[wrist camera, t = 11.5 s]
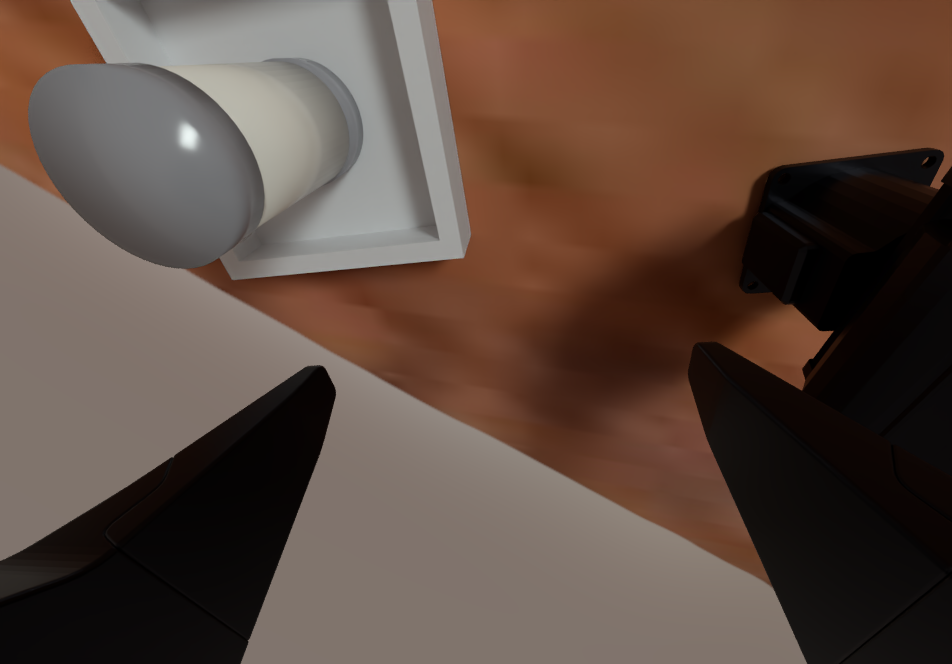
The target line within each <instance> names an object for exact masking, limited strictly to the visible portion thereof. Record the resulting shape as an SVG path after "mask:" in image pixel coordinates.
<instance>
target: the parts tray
mask: <svg viewBox="0 0 952 664" xmlns="http://www.w3.org/2000/svg"><path fill="white" fill-rule="evenodd" d="M70 1H71V3H72V5H73V6H74V8H75V10H76V11H77V13H78V15H79V17H80V18H81V20H82V22H83V24H84V25H85V27H86V29H87V30H88V32H89V34H90V36H91V37H92V39H93V41H94V42H95V44H96V46H97V48H98V49H99V51H100V53H101V55H102V56H103V58H104V60H105V61H106V63H144V64H151V65H154V66H179V65H203V64H226V63H249V62H262V61H264V60H268V59H272V58H305V59H309V60H312V61H315V62H317V63H319V64H321V65H323V66H325V67H326V68H328V69H329V70H331V71H332V72H333V73H334V74H335V75H336V76H337V77H338V78H339V79H340V80H341V81H342V82H343V83H344V84H345V85H346V87H347V88H348V89H349V91H350V93H351V94H352V96H353V98H354V100H355V102H356V104H357V106H358V109H359V111H360V115H361V118H362V124H363V145H362V149H361V152H360V155H359V157H358V159H357V161H356V163H355V164H354V165H353V167H352V168H351V169H350V170H349V171H347V172H346V173H344V174H343V175H341V176H340V177H338V178H337V179H335V180H334V181H332V182H331V183H329V184H326V185H323V186H320V187H319V188H317V189H316V190H314V191H313V192H311V193H310V194H308V195H307V196H305V197H304V198H302V199H301V200H299V201H297V202H296V203H294V204H293V205H291V206H290V207H288V208H287V209H285V210H284V211H282V212H281V213H279V214H278V215H276V216H275V217H273V218H272V219H270V220H268V221H267V222H265V223H264V224H262V225H261V226H259V227H258V228H256V230H255V231H254V232H253V233H252V235H251V236H250V237H248V238H247V239H246V240H244V241H243V242H241V243H240V244H238V245H237V246H235V247H234V248H232V249H231V250H229V251H228V252H226V253H225V254H223V255H222V256H220V257H219V258H220V260H221V261H222V263H223V265H224V267H225V268H226V270H227V272H228V274H229V275H230V277H231V279H232V280H239V279H249V278H260V277H270V276H281V275H291V274H301V273H312V272H322V271H333V270H343V269H353V268H364V267H374V266H385V265H395V264H405V263H416V262H426V261H437V260H447V259H457V258H464V256H465V252H466V249H467V246H468V243H469V239H470V236H471V231H470V225H469V219H468V213H467V207H466V201H465V195H464V189H463V183H462V177H461V171H460V165H459V159H458V153H457V147H456V141H455V135H454V129H453V123H452V117H451V111H450V105H449V99H448V93H447V87H446V81H445V75H444V69H443V63H442V57H441V51H440V45H439V39H438V33H437V27H436V21H435V15H434V9H433V3H432V0H70Z"/></svg>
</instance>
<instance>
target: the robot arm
mask: <svg viewBox="0 0 952 664" xmlns="http://www.w3.org/2000/svg"><path fill="white" fill-rule="evenodd" d="M927 157H929V158H928V160H927V162H926V163H925V164H923V165H921V164H922V162H923V161H924V160H925V159H926V158H927ZM943 158H944V153H943V152H942V151H941V150H938V149H934V148H921V149H913V150H905V151H897V152H888V153H880V154H872V155H864V156H855V157H847V158H839V159H831V160H823V161H814V162H806V163H798V164H790V165H782V166H779V167H777V168H775V169H774V170H773V171H772V172H771V173H770V174H769V176H768V179H767V182H766V186H765V190H764V193H763V197H762V201H761V204H760V208H759V212H758V213H757V214H756V216H755V217H754V218H753V221H752V225H751V229H750V232H749V236H748V240H747V244H746V247H745V251H744V255H743V259H742V263H743V264H744V267H743V271H742V274H741V278H740V282H739V286H740V288H741V289H742V290H743V291H744V292H745V293H750V294H751V293H766V292H772V293H773V294H774V295H775V296H776V297H777V298H778V299H779V300H780V301H781V302H782V303H783V304H785V305H790V304H792V305H793V306H794V307H795V308H796V309H797V310H798V311H800V312H801V313H802V314H803V315H804V316H805V317H806V318H807V319H808V320H809V321H810V322H811V323H812V324H813V325H814V326H815V327H816V328H817V329H818V330H819V331H834V332H833V333H832V334H831V336H830V337H829V338H828V340H827V341H826V342H825V344H824V345H823V346H822V348H821V349H820V350H819V352H818V353H817V354H816V356H815V357H814V358H813V359H809V360H808V362H807V363H806V364H805V366H804V367H803V368H802V371H803V374H804V377H805V383H804V387H803V390H802V391H801V390H800V389H798V388H796V387H794V386H793V385H791V384H789V383H787V382H786V381H784V380H782V379H780V378H779V377H777V376H775V375H774V374H772V373H770V372H768V371H767V370H765V369H763V368H761V367H760V366H758V365H756V364H754V363H753V362H751V361H749V360H747V359H746V358H744V357H742V356H740V355H739V354H737V353H735V352H734V351H732V350H730V349H728V348H727V347H725V346H723V345H721V344H720V343H718V342H698V343H696V344H695V345H694V347H693V350H692V355H691V360H690V364H689V369H688V378H689V382H690V386H691V389H692V392H693V396H694V399H695V402H696V405H697V409H698V412H699V415H700V418H701V422H702V425H703V428H704V431H705V434H706V437H707V440H708V443H709V445H710V448H711V450H712V452H713V454H714V457H715V459H716V461H717V463H718V466H719V468H720V470H721V472H722V475H723V477H724V479H725V481H726V483H727V486H728V488H729V490H730V492H731V495H732V497H733V499H734V501H735V504H736V506H737V508H738V510H739V513H740V515H741V517H742V519H743V521H744V524H745V526H746V528H747V530H748V533H749V535H750V537H751V539H752V542H753V544H754V546H755V548H756V550H757V553H758V555H759V557H760V559H761V562H762V564H763V566H764V568H765V571H766V573H767V575H768V577H769V580H770V582H771V584H772V586H773V588H774V591H775V593H776V595H777V597H778V600H779V602H780V604H781V606H782V609H783V611H784V613H785V615H786V617H787V620H788V622H789V624H790V626H791V629H792V631H793V633H794V635H795V638H796V640H797V642H798V644H799V646H800V649H801V651H802V653H803V655H804V657H805V660H806V662H807V664H952V167H951V168H950V169H949V171H948V172H947V173H946V175H945V176H944V177H943V179H942V180H941V182H943V183H944V184H943V185H942V187H941V188H940V189H939V190H938V189H935V188H933V187H930V185H931V183H932V181H933V179H934V177H935V175H936V173H937V171H938V169H939V167H940V165H941V163H942V161H943ZM785 173H786V177H785V179H784V180H783V181H781V182H778V179H779V177H780V176H781V175H782V174H785ZM753 281H755V282H754V284H752V285H750V286H748V284H749V283H751V282H753ZM335 397H336V390H335V387H334V385H333V383H332V381H331V379H330V377H329V375H328V373H327V371H326V369H325V368H324V367H323V366H320V365H317V366H307V367H305V368H303V369H302V370H301V371H299V372H297V373H296V374H294V375H293V376H292V377H290V378H288V379H287V380H286V381H284V382H283V383H281V384H280V385H278V386H277V387H275V388H274V389H272V390H271V391H269V392H268V393H266V394H265V395H264V396H262V397H260V398H259V399H257V400H256V401H254V402H253V403H251V404H250V405H248V406H247V407H245V408H244V409H243V410H241V411H239V412H238V413H237V414H235V415H234V416H232V417H231V418H229V419H228V420H226V421H225V422H223V423H222V424H220V425H219V426H217V427H216V428H214V429H213V430H211V431H210V432H208V433H207V434H205V435H204V436H202V437H201V438H199V439H198V440H196V441H195V442H193V443H192V444H191V445H189V446H188V447H186V448H185V449H183V450H182V451H180V452H179V453H177V454H176V455H175V456H174V458H173V457H172V458H170V459H168V460H167V461H165V462H164V463H162V464H161V465H159V466H158V467H156V468H155V469H153V470H152V471H150V472H149V473H147V474H146V475H144V476H143V477H141V478H140V479H138V480H137V481H135V482H133V483H132V484H131V485H129V486H128V487H126V488H124V489H123V490H121V491H119V492H118V493H116V494H114V495H113V496H111V497H110V498H108V499H107V500H105V501H103V502H102V503H100V504H98V505H97V506H95V507H93V508H92V509H90V510H89V511H87V512H85V513H84V514H82V515H80V516H79V517H77V518H75V519H74V520H72V521H70V522H69V523H67V524H66V525H64V526H62V527H61V528H59V529H57V530H56V531H54V532H52V533H51V534H49V535H47V536H46V537H44V538H43V539H41V540H39V541H38V542H36V543H34V544H33V545H31V546H29V547H27V548H26V549H24V550H23V551H20V552H19V553H17V554H15V555H12V556H10V557H8V558H6V559H4V560H2V561H0V664H241V661H242V658H243V656H244V653H245V650H246V648H247V645H248V640H249V639H250V636H251V634H252V631H253V629H254V626H255V623H256V621H257V618H258V615H259V613H260V610H261V608H262V605H263V602H264V600H265V597H266V594H267V592H268V589H269V587H270V584H271V581H272V579H273V576H274V573H275V571H276V568H277V566H278V563H279V560H280V558H281V555H282V552H283V550H284V547H285V544H286V542H287V539H288V537H289V534H290V531H291V529H292V526H293V523H294V521H295V518H296V515H297V513H298V510H299V508H300V505H301V502H302V500H303V497H304V494H305V492H306V489H307V486H308V484H309V481H310V479H311V476H312V473H313V471H314V468H315V465H316V463H317V460H318V458H319V455H320V452H321V449H322V446H323V442H324V439H325V435H326V431H327V428H328V424H329V420H330V416H331V412H332V409H333V405H334V401H335Z"/></svg>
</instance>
